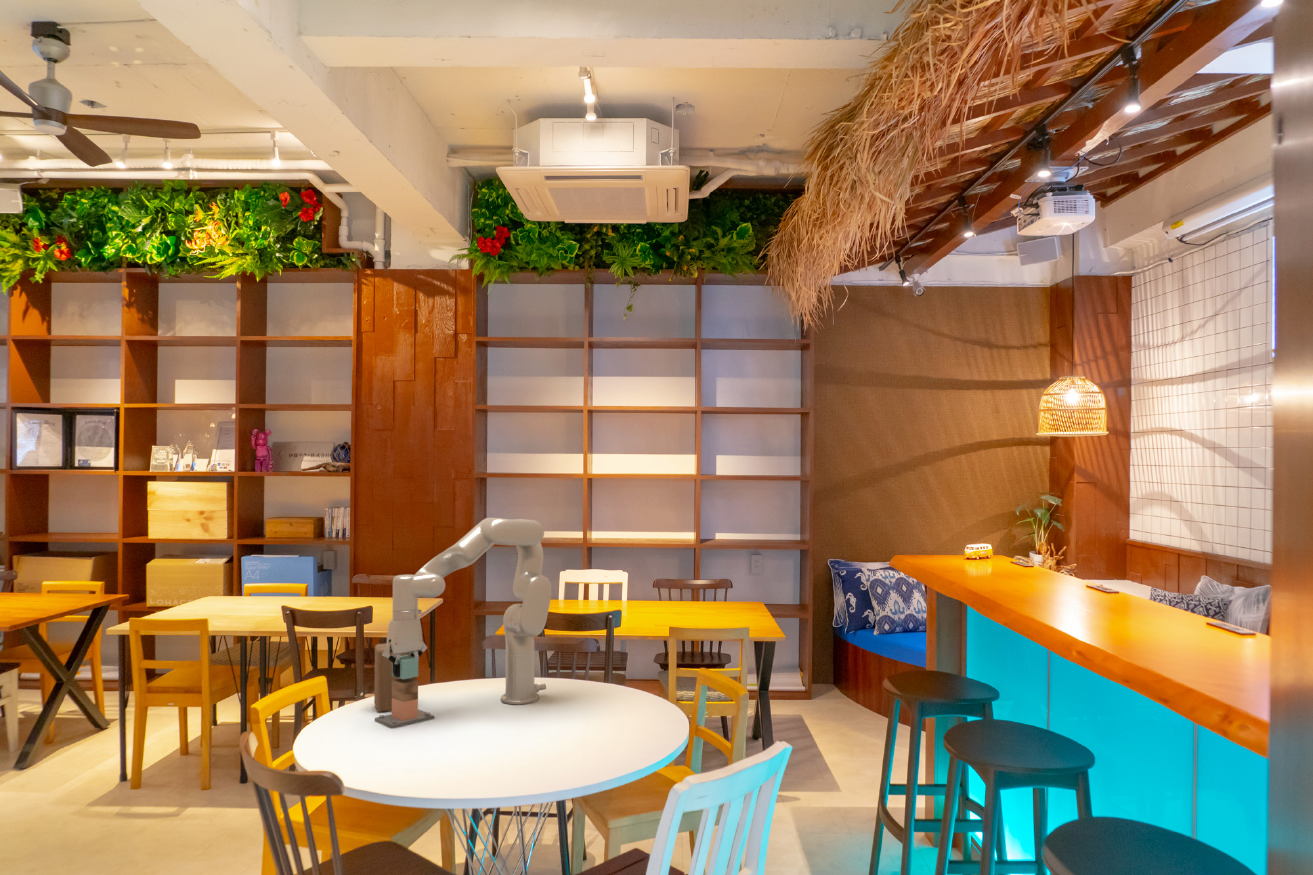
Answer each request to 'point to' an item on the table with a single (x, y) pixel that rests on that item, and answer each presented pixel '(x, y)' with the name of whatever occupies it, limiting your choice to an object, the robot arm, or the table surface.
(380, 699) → the block
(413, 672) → the teal brick
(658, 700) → the table surface
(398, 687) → the walnut brick
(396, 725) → the baseplate
